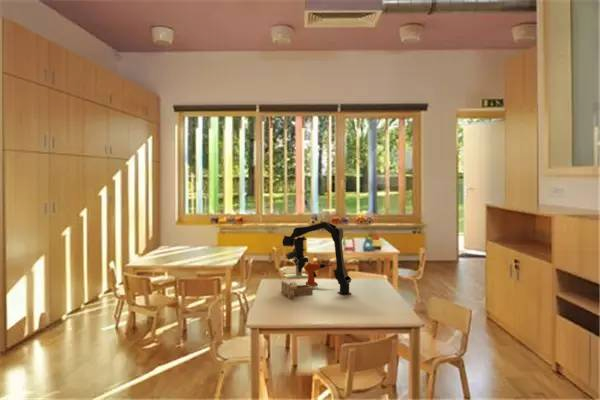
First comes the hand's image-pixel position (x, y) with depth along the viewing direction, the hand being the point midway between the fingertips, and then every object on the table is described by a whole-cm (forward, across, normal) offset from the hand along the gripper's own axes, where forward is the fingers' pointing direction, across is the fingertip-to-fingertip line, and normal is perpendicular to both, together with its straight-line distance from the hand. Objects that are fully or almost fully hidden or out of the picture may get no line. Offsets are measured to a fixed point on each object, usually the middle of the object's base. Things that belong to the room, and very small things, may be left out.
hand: (298, 272), depth 312 cm
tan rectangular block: (+6, +21, -11) cm, 24 cm away
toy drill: (+11, -7, +16) cm, 20 cm away
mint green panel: (+2, 0, -2) cm, 3 cm away
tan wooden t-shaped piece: (+10, +16, -5) cm, 20 cm away
